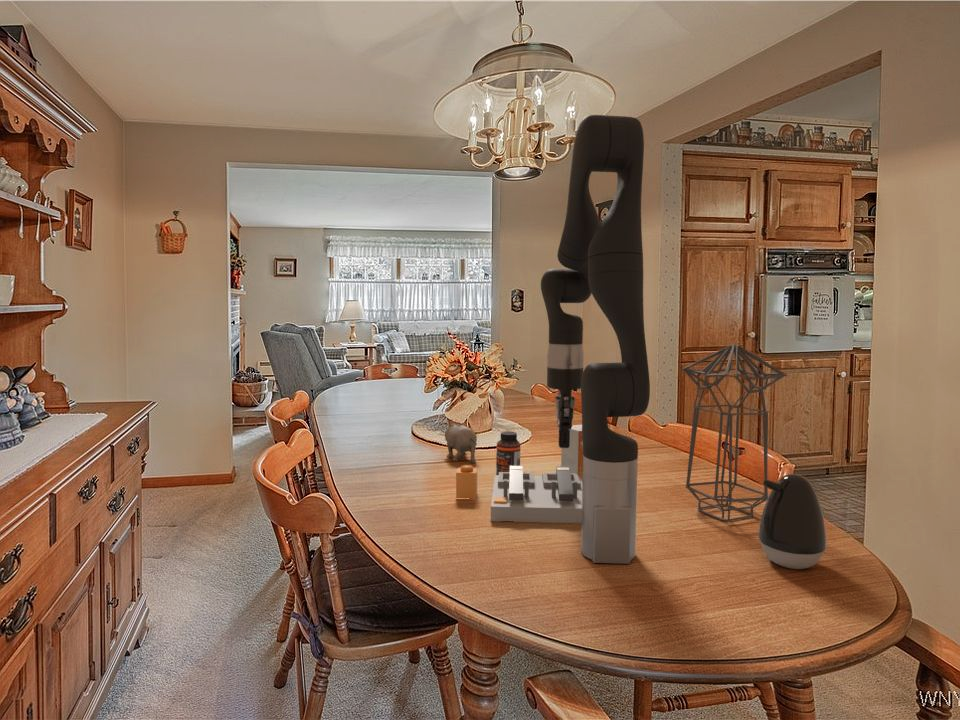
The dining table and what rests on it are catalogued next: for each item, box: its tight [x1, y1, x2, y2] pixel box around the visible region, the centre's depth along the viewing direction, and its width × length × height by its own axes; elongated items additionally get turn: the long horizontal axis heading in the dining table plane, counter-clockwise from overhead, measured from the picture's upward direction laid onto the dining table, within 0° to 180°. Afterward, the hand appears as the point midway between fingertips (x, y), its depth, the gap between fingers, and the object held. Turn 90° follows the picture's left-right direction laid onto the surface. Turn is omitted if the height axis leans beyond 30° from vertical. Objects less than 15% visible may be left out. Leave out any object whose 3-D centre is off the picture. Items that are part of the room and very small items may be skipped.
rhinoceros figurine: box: [444, 422, 478, 464], centre depth 179 cm, size 8×14×15 cm
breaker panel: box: [490, 471, 582, 524], centre depth 138 cm, size 23×20×6 cm
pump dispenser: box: [758, 473, 827, 570], centre depth 107 cm, size 10×10×15 cm
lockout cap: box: [455, 464, 478, 500], centre depth 144 cm, size 4×4×7 cm
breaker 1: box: [509, 465, 524, 500], centre depth 134 cm, size 11×3×2 cm, turn 177°
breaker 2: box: [555, 466, 574, 501], centre depth 133 cm, size 11×3×2 cm, turn 177°
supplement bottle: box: [495, 430, 521, 475], centre depth 159 cm, size 6×6×11 cm
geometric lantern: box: [681, 344, 788, 522], centre depth 132 cm, size 16×16×35 cm
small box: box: [560, 424, 583, 481], centre depth 158 cm, size 8×6×13 cm
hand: (563, 446), depth 136 cm, fingers closed
